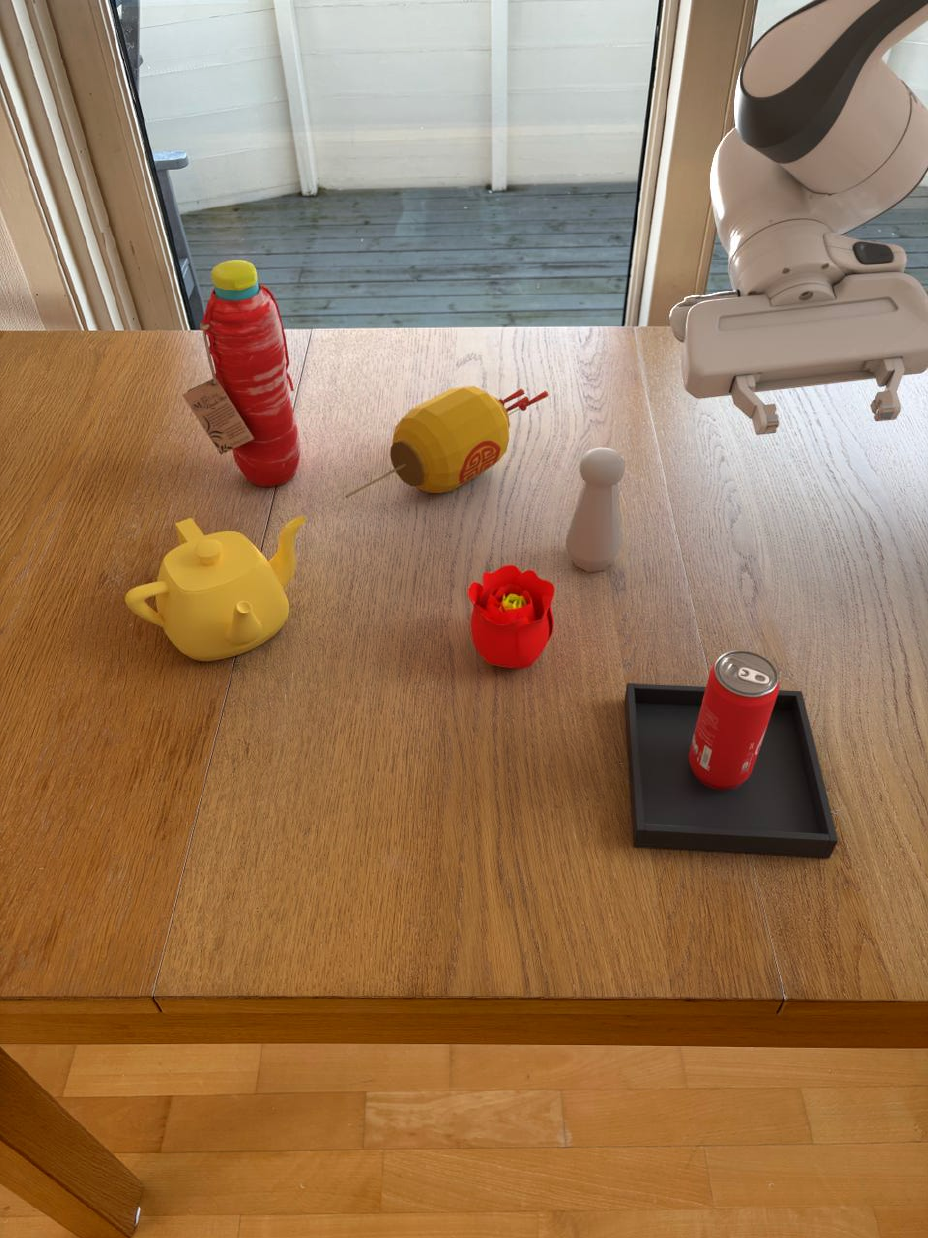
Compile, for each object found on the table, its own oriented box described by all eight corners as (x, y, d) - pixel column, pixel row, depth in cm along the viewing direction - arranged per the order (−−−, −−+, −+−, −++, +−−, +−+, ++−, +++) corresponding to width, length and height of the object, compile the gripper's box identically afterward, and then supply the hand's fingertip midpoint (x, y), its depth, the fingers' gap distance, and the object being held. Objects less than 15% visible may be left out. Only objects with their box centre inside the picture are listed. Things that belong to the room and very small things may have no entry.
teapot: (265, 687, 87) (247, 609, 80) (133, 661, 90) (105, 583, 83) (318, 588, 97) (307, 511, 90) (198, 567, 99) (177, 491, 92)
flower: (458, 636, 92) (456, 574, 86) (530, 615, 94) (534, 553, 88) (489, 693, 86) (490, 631, 81) (566, 669, 88) (572, 607, 83)
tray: (795, 709, 85) (802, 690, 83) (829, 858, 74) (838, 841, 72) (624, 701, 86) (627, 682, 84) (633, 847, 75) (637, 829, 73)
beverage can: (696, 736, 82) (721, 639, 74) (756, 757, 80) (789, 660, 72) (679, 781, 79) (703, 684, 70) (741, 803, 77) (773, 708, 69)
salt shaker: (626, 574, 98) (641, 470, 89) (572, 581, 97) (582, 476, 88) (610, 538, 102) (624, 436, 93) (558, 545, 101) (566, 442, 92)
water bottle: (235, 516, 105) (186, 303, 88) (198, 484, 110) (144, 275, 92) (323, 473, 111) (294, 265, 93) (285, 444, 115) (250, 240, 98)
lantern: (520, 334, 112) (319, 434, 97) (579, 380, 109) (381, 492, 94) (504, 399, 120) (316, 501, 105) (559, 444, 117) (373, 556, 102)
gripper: (670, 273, 77) (702, 414, 72) (923, 243, 77) (974, 383, 71) (660, 325, 83) (689, 459, 78) (895, 297, 82) (941, 431, 77)
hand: (828, 423), depth 74 cm, fingers open, 8 cm apart
